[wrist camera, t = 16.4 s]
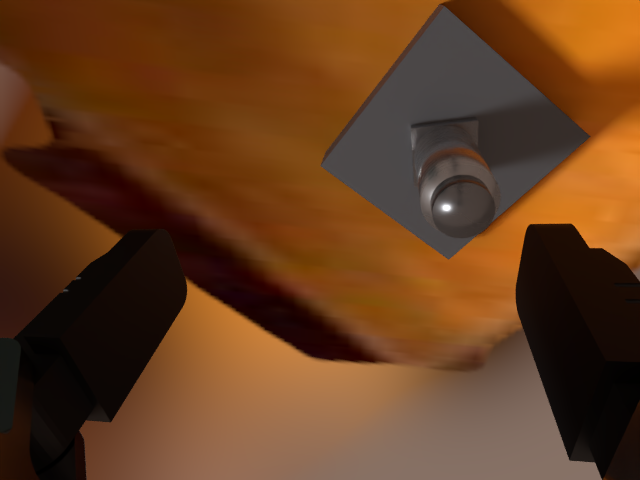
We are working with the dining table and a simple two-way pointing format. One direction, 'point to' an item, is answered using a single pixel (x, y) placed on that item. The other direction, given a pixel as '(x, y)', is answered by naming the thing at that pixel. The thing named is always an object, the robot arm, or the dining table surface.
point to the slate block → (442, 105)
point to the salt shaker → (453, 177)
